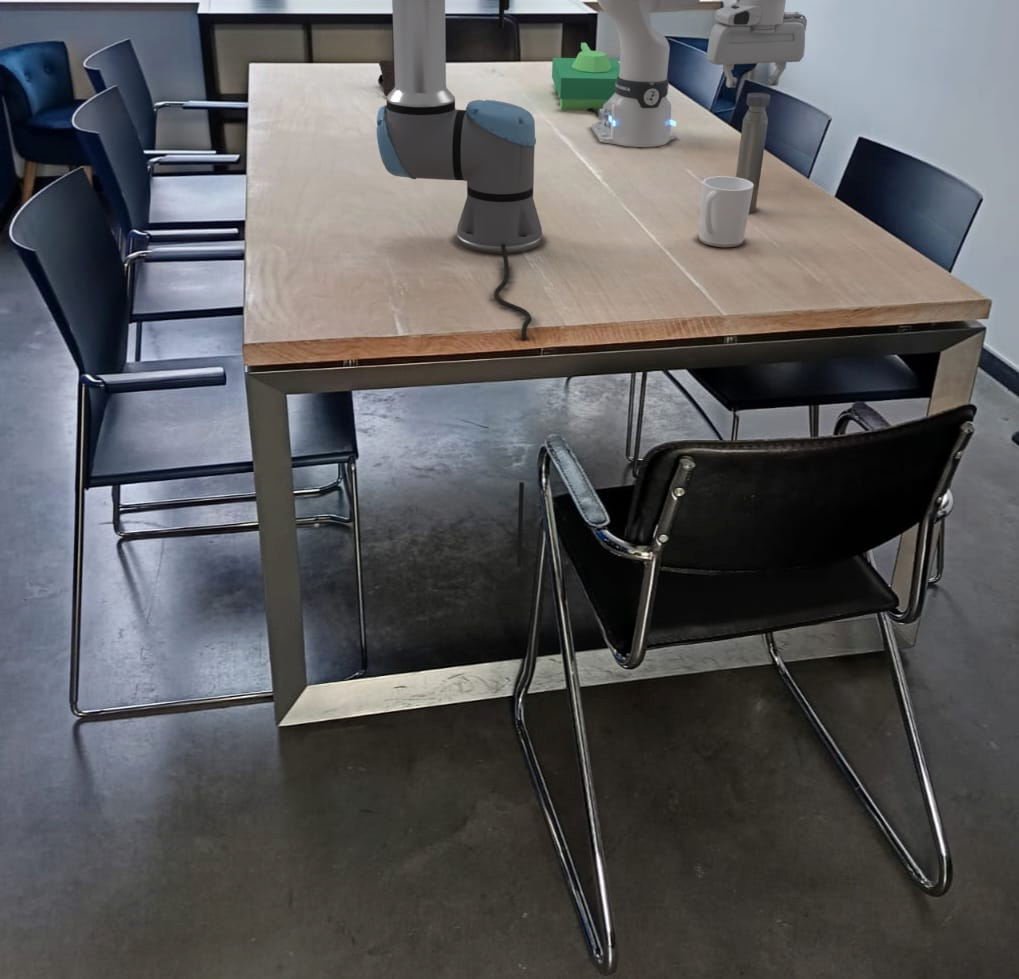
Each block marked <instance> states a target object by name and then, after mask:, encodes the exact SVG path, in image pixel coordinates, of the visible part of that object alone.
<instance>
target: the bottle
mask: <svg viewBox="0 0 1019 979" xmlns="http://www.w3.org/2000/svg"><path fill="white" fill-rule="evenodd" d="M768 124H769V118H768V115H767V111H766V107H752V106H748V109H747V111H746V113H745V115H744V116H743V118H742V126H741V134H740V142H739V150H738V156H737V164H736V174H735V177H737V178H742V179H746V180H748V181H750V182H752V183H753V185H754V187H753V192H752V198H751V203H750V208H749V214H752V213H755V212H756V210H757V204H758V196H759V188H760V183H761V182H760V181H761V174H762V166H763V162H764V161H763V160H764V152H765V146H766V139H767V138H766V137H767V131H768Z"/></svg>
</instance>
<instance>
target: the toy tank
mask: <svg viewBox="0 0 1019 979" xmlns="http://www.w3.org/2000/svg"><path fill="white" fill-rule="evenodd" d="M580 49H581V51H580V52H578V54H577V56H576V57H552V62H551V63H552V65H551V66H552V67H551V79H552V81H553V84H554V92H555V93H556V94H557V95H558V99H559V107H560V110H561V111H586V110H587V109H590V108H592V109H595V110H597V111H599V109H603V105H604V104H605V103H606V102H607V101H608V100H609V99H610V98H611V97H612V95H613V94H614V93H615V91H614V89H615V83H616V80H617V77H618V76H619V69H620V61H618V59H617V58H609V57H608V54H607V53H605V52H603V51H601V50H600V51H598V50H591V48H590V47H589V45H588V44H587V42H581V43H580Z"/></svg>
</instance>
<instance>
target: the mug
mask: <svg viewBox="0 0 1019 979" xmlns="http://www.w3.org/2000/svg"><path fill="white" fill-rule="evenodd" d="M753 187H754V185H753V183H752V182H750V181H748V180H746V179H742V178H737V177H736V176H728V175H727V176H725V175H719V176H717V175H716V176H715V175H714V176H709V177H706V178H704V179H703V180H702V182H701V194H700V195H701V196H700V197H701V198H700V210H699V211H700V213H699V225H698V226H699V227H698V239H699V241H700V242H701V243H703V244H704V245H708V246H710V247H716V248H733V247H739V246H740V245H742V244H743V243H744V240H745V236H746V235H745V234H746V229H747V224H748V220H749V215H750V213H749V208H750V203H751V198H752V192H753Z"/></svg>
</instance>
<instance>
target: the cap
mask: <svg viewBox="0 0 1019 979" xmlns="http://www.w3.org/2000/svg"><path fill="white" fill-rule="evenodd" d="M770 103H771V94H769V93H765V92H748V93H747V96H746V101H745V105H746V106H748V107H749V106H752V107H765V108H767V107H769V106H770Z"/></svg>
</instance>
